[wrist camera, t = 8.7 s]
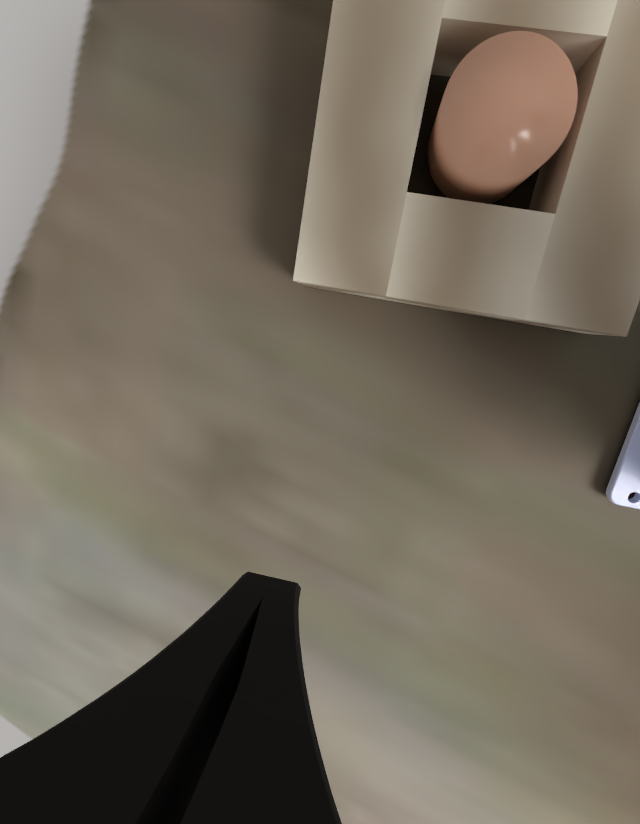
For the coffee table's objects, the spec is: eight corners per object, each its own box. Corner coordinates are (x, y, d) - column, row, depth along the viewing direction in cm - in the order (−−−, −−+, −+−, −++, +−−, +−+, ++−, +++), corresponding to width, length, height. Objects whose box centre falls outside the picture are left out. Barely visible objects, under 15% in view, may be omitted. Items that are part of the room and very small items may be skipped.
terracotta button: (551, 94, 14) (596, 38, 12) (519, 213, 15) (553, 189, 13) (441, 80, 15) (458, 23, 12) (416, 197, 16) (427, 171, 13)
